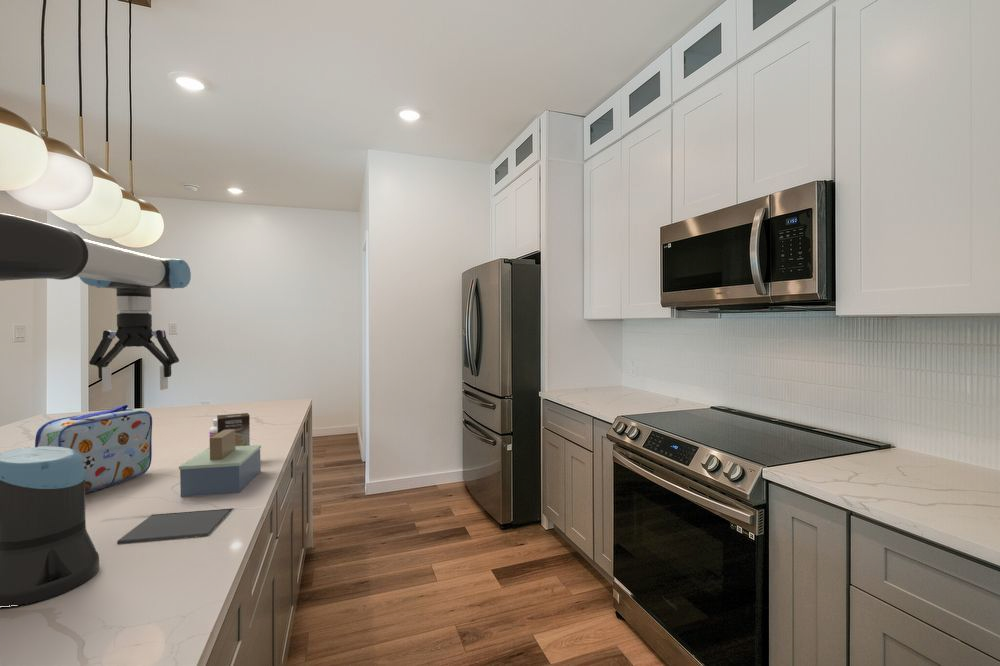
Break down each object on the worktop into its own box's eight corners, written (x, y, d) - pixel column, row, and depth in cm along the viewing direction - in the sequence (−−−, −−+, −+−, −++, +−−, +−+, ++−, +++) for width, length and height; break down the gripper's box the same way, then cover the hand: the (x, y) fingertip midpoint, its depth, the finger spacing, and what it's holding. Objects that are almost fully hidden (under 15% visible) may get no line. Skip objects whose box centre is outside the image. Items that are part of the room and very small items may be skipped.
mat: (207, 535, 99) (207, 533, 99) (117, 543, 96) (117, 540, 96) (243, 497, 121) (243, 495, 121) (170, 503, 117) (170, 500, 117)
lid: (239, 470, 122) (239, 440, 122) (178, 474, 119) (178, 443, 119) (261, 451, 140) (260, 425, 140) (208, 454, 137) (208, 427, 137)
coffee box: (217, 469, 144) (216, 418, 144) (216, 464, 150) (215, 415, 149) (250, 464, 149) (249, 415, 149) (248, 459, 155) (248, 412, 154)
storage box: (239, 495, 122) (239, 465, 122) (180, 499, 120) (180, 469, 120) (260, 473, 140) (260, 447, 140) (209, 477, 137) (209, 450, 137)
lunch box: (133, 469, 145) (132, 399, 145) (160, 471, 143) (159, 400, 143) (28, 502, 118) (26, 417, 118) (60, 505, 116) (58, 418, 116)
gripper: (191, 313, 133) (192, 386, 133) (89, 312, 127) (91, 389, 127) (179, 312, 125) (181, 390, 126) (71, 312, 120) (73, 393, 120)
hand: (135, 390), depth 127 cm, fingers open, 13 cm apart
